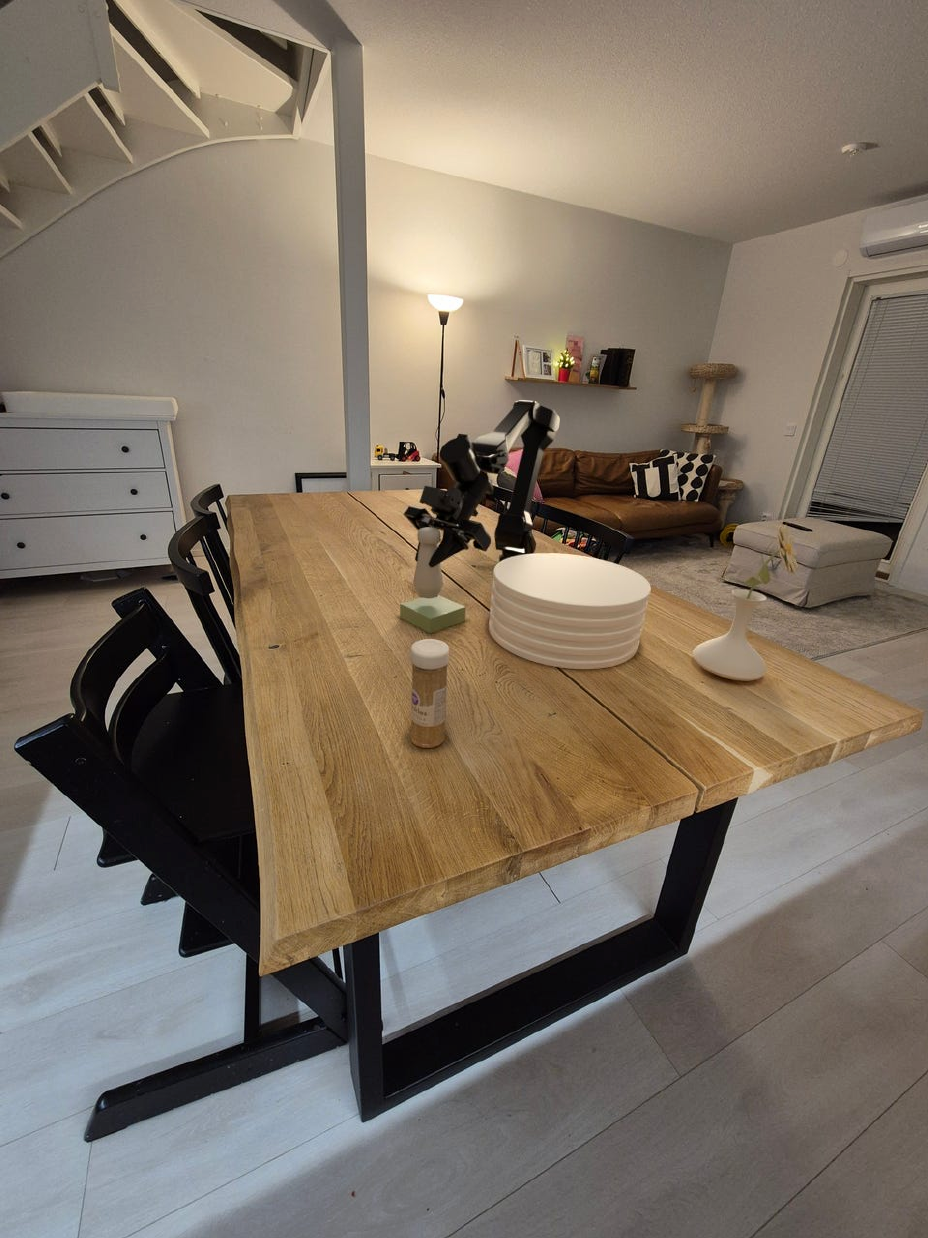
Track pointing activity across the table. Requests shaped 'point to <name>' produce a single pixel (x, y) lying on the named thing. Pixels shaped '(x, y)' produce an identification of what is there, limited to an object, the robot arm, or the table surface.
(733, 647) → the flower in vase
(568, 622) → the plate stack
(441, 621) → the green block
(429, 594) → the salt shaker
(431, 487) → the robot arm
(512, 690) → the table surface
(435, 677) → the sprinkles bottle
